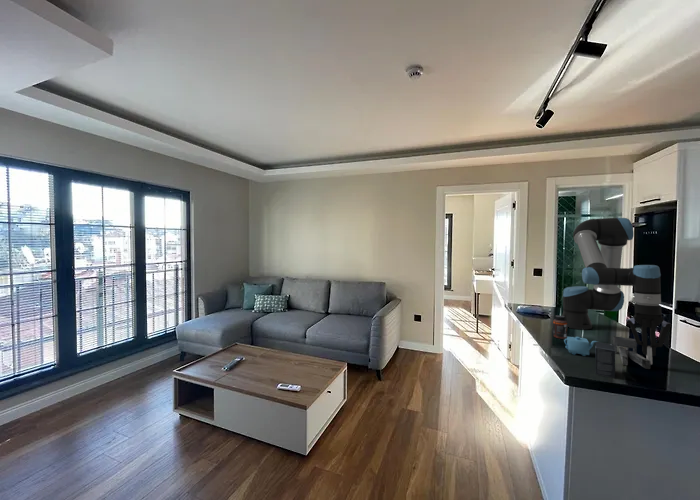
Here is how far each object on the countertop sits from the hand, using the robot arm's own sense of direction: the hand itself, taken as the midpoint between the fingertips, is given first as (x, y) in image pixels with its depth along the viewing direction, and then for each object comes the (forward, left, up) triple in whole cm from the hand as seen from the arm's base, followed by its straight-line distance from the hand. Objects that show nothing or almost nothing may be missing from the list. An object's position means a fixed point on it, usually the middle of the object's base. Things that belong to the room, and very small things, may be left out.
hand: (649, 363), depth 118 cm
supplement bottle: (-24, -30, -2) cm, 39 cm away
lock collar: (-12, -6, -2) cm, 14 cm away
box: (+17, -14, -2) cm, 22 cm away
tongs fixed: (-4, -7, -2) cm, 8 cm away
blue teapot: (-2, -22, -2) cm, 22 cm away
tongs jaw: (-2, -3, -1) cm, 4 cm away
